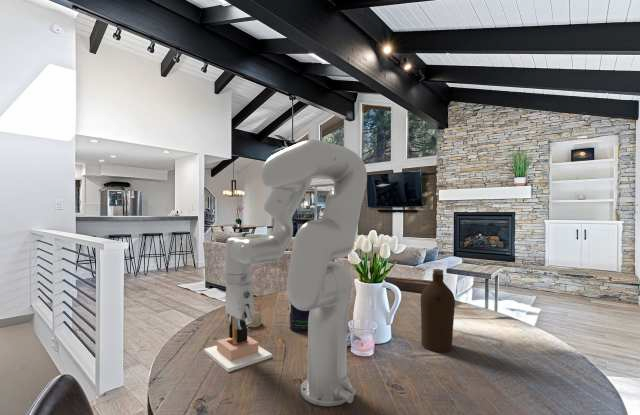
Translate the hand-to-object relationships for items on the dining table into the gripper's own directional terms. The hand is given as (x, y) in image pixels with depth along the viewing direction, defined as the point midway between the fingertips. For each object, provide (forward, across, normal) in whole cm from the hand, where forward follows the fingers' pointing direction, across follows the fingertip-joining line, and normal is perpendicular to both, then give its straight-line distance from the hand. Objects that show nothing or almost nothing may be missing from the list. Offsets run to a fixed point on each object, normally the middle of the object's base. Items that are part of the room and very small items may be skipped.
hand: (238, 338), depth 102 cm
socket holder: (+5, 0, 0) cm, 5 cm away
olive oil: (+5, -35, -53) cm, 64 cm away
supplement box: (+2, 0, 0) cm, 2 cm away
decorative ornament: (+5, +19, -16) cm, 25 cm away
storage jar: (+5, +5, -29) cm, 30 cm away
